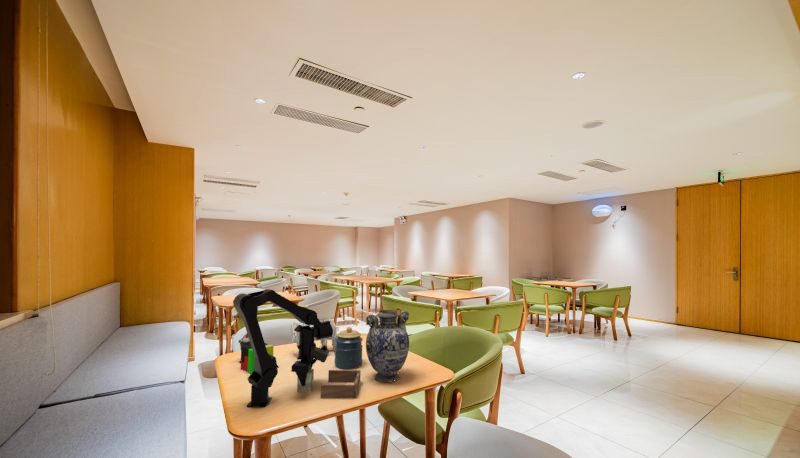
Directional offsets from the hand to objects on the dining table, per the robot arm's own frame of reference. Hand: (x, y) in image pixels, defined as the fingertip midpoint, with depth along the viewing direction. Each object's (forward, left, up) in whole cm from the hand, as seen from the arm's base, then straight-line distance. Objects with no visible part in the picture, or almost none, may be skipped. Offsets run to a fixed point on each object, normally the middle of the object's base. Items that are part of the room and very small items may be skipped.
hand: (305, 382), depth 131 cm
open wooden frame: (0, -14, -2) cm, 14 cm away
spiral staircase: (+46, +6, -3) cm, 46 cm away
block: (0, 0, -3) cm, 3 cm away
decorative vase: (+12, -32, -3) cm, 34 cm away
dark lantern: (+32, +37, -3) cm, 49 cm away
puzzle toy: (+23, +28, -3) cm, 36 cm away
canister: (+28, -13, -3) cm, 31 cm away
